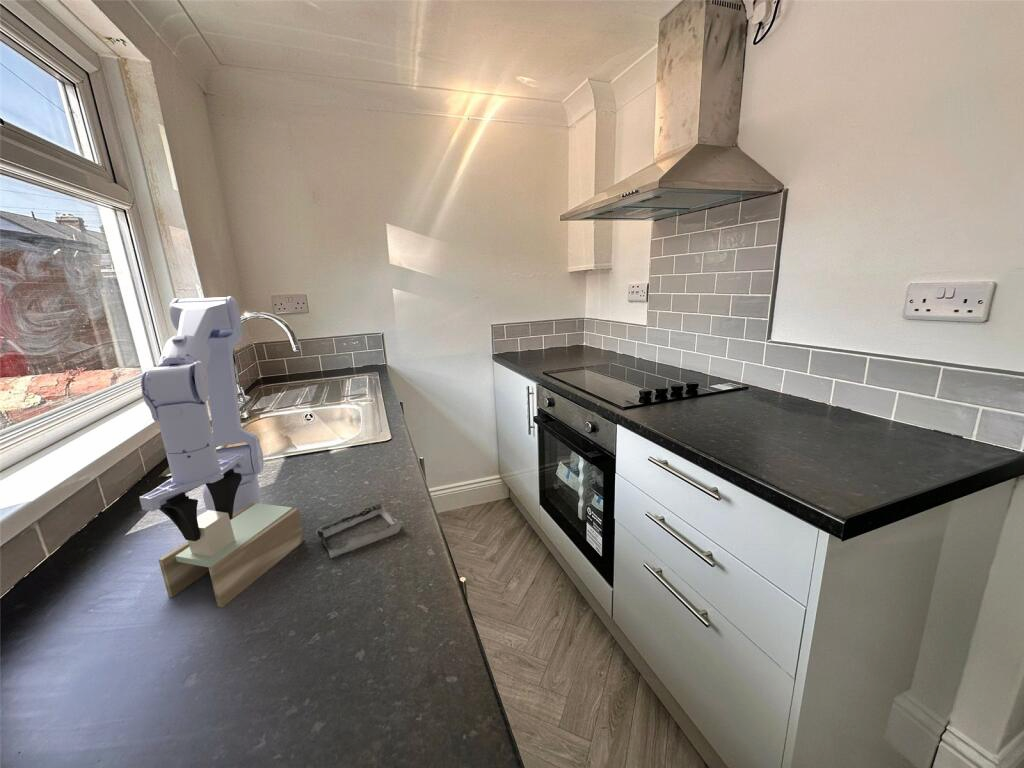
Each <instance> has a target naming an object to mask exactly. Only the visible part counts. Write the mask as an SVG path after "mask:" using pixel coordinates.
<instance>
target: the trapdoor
mask: <svg viewBox="0 0 1024 768" xmlns="http://www.w3.org/2000/svg"><path fill="white" fill-rule="evenodd" d="M293 509H294V508H293V507H291V506H283V505H275V504H274V505H273V504H267V503H263V504H260V503H256V504H255V505H253V506H251V507H250V508H248V509H247V510H245V511H244V512H242V513H241V514H239V515H238V516H236V517H234V518H233V519H231V520H230V522H231V526H232V529H233V533H234V537H235V541H234V542H233V543H231V544H230V545H228V546H227V547H226V548H224V549H223V550H222V551H220V552H219V553H217V554H216V555H215V556H213V557H209V556H203V555H197V554H192V553H191V550H190V547H188V548H187V549H185V550H184V551H182V552H180V553H179V554H177V555H176V556H175V557H176V561H177V562H182V563H187V564H193V565H198V566H204V567H209V568H210V567H211V566H213V565H214V564H216V563H217V562H218V561H220V560H221V559H223V558H224V557H226V556H227V555H228V554H230V553H231V552H233V551H234V550H236V549H237V548H239V547H240V546H241V545H243V544H244V543H246V542H247V541H249V540H250V539H251V538H253V537H254V536H256V535H257V534H259V533H260V532H262V531H263V530H264V529H266V528H267V527H269V526H270V525H272V524H273V523H274V522H276V521H277V520H279V519H280V518H282V517H283V516H284V515H286V514H287V513H289V512H290V511H292V510H293Z"/></svg>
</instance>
